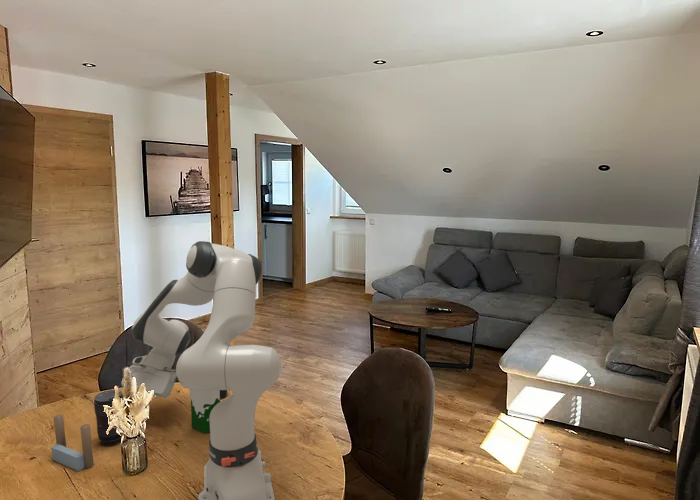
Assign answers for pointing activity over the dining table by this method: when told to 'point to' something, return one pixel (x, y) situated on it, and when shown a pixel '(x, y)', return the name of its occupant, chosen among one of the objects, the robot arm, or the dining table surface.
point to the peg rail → (68, 455)
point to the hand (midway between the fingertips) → (135, 405)
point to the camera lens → (105, 418)
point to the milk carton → (203, 408)
